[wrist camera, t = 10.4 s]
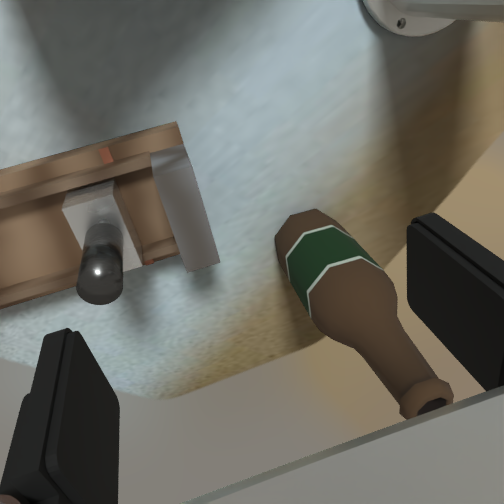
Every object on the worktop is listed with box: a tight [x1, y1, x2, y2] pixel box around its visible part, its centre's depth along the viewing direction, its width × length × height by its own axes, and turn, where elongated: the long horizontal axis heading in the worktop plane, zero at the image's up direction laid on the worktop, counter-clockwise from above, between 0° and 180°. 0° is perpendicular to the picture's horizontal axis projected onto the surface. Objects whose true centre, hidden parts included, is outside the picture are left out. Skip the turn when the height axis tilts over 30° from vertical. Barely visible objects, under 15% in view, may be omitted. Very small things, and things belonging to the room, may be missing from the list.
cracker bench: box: [0, 121, 220, 309], centre depth 37 cm, size 24×12×8 cm, turn 102°
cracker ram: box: [62, 177, 143, 305], centre depth 34 cm, size 4×7×11 cm, turn 12°
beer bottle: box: [275, 209, 454, 420], centre depth 38 cm, size 8×8×24 cm
